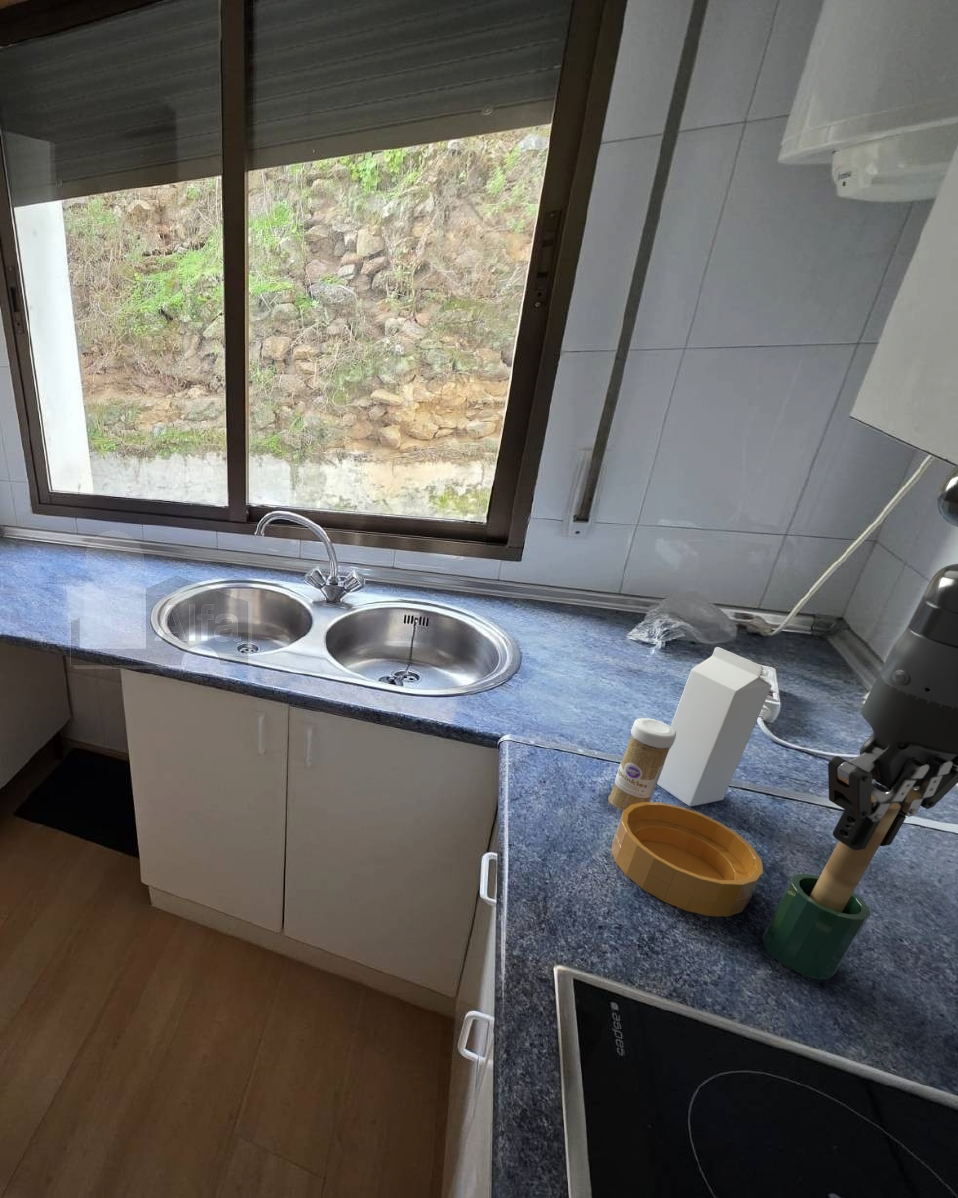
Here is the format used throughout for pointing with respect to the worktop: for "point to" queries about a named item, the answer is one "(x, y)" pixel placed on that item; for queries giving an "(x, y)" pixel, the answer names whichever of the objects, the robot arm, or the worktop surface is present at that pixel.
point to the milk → (713, 727)
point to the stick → (849, 866)
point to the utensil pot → (812, 930)
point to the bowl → (686, 858)
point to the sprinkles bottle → (642, 762)
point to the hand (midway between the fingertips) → (860, 840)
